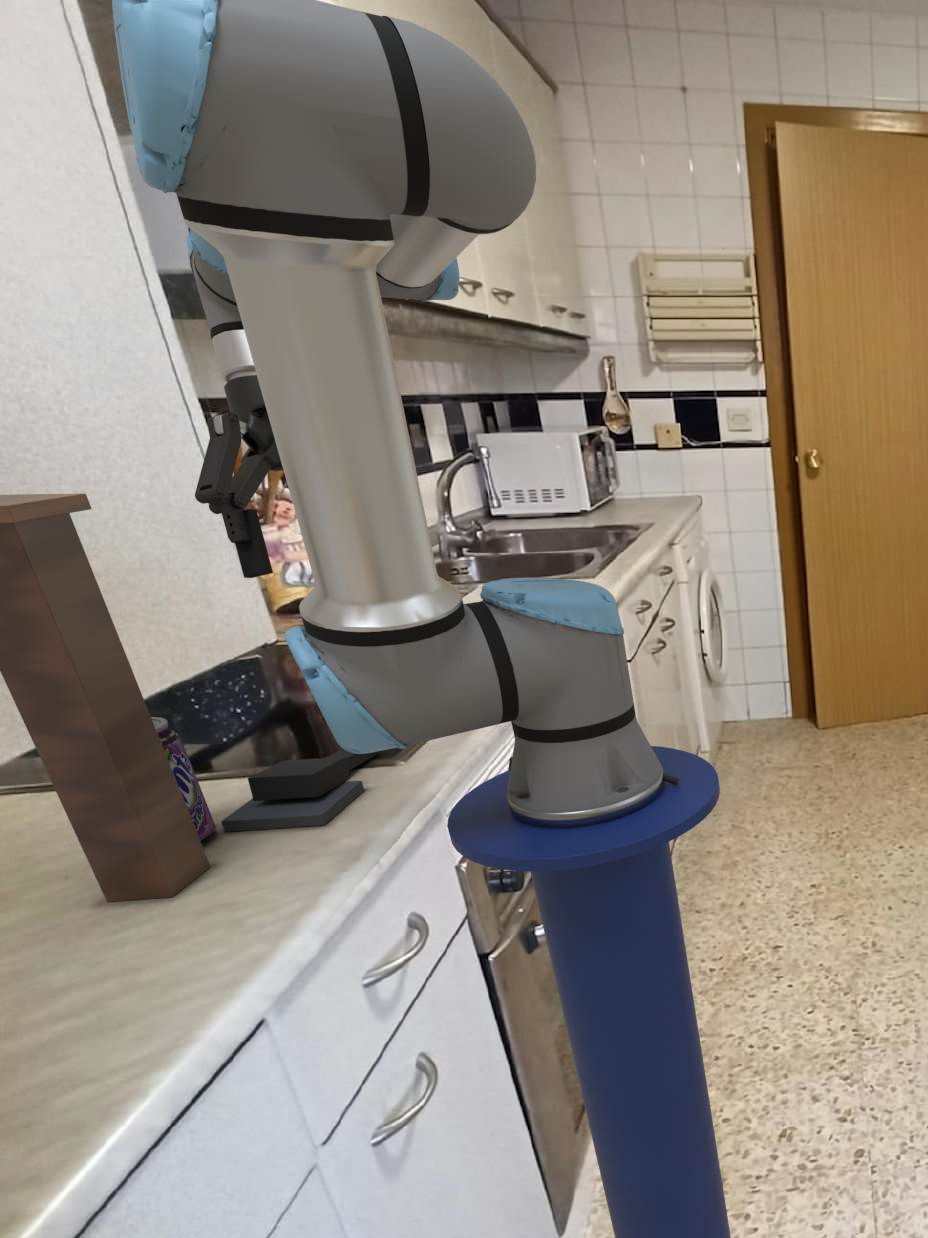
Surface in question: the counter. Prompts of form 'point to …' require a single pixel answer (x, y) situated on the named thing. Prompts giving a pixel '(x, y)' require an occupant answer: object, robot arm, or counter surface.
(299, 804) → the base pad
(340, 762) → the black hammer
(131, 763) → the stand
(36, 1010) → the counter surface
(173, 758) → the beverage can
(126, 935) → the counter surface
